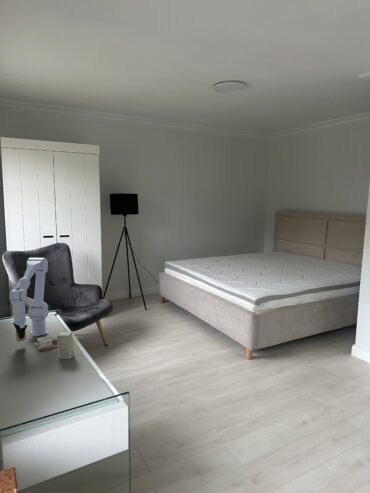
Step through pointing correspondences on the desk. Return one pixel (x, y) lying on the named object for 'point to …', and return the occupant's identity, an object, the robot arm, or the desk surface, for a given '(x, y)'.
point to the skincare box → (65, 345)
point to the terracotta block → (18, 337)
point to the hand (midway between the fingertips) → (20, 337)
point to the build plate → (46, 343)
